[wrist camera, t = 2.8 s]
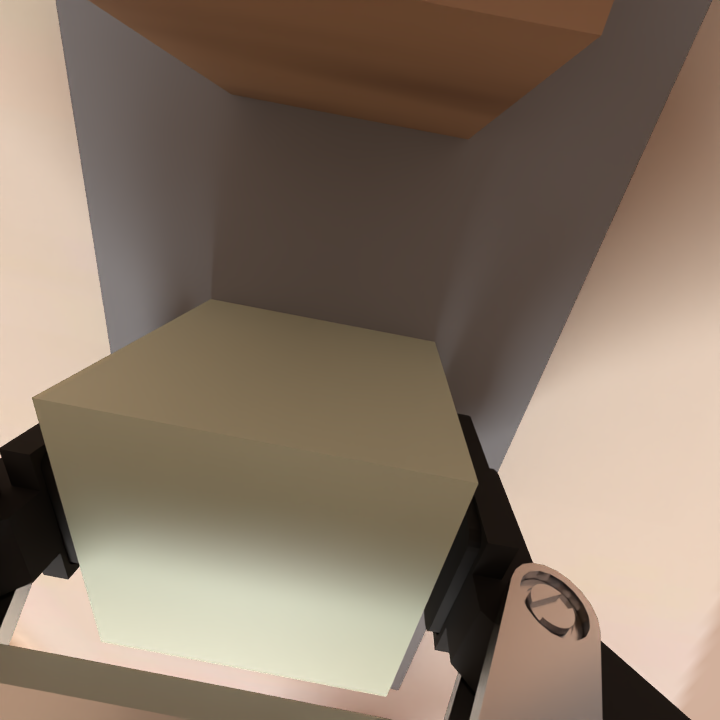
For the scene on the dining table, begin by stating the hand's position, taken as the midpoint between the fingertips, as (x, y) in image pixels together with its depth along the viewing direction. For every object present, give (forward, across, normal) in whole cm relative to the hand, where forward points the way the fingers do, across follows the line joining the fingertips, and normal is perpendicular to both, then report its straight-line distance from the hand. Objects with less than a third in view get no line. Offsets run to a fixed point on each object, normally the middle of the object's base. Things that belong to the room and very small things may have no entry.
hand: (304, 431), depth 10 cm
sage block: (+1, 0, 0) cm, 1 cm away
